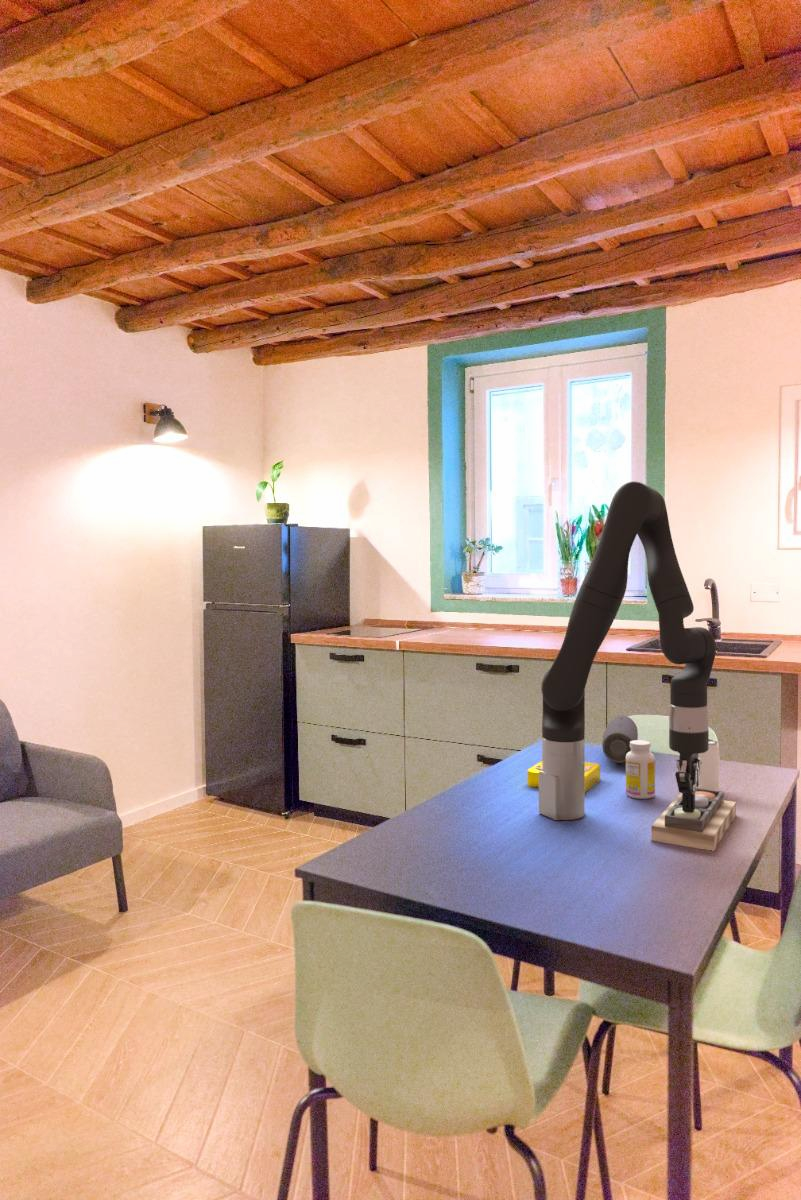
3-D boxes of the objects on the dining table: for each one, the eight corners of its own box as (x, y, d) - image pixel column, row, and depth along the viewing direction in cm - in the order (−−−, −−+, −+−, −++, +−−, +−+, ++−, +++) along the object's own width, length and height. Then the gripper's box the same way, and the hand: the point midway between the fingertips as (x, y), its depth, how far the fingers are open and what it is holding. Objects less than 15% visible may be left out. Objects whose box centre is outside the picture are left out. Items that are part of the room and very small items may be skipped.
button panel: (713, 851, 160) (714, 824, 159) (651, 840, 166) (651, 815, 166) (735, 815, 180) (736, 792, 180) (679, 806, 186) (679, 784, 186)
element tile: (582, 796, 197) (582, 776, 196) (524, 787, 205) (524, 768, 204) (602, 780, 210) (602, 762, 209) (547, 772, 217) (547, 754, 217)
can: (721, 795, 195) (721, 745, 194) (692, 793, 196) (692, 744, 195) (716, 787, 201) (716, 738, 200) (688, 785, 202) (688, 737, 201)
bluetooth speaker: (605, 746, 243) (605, 712, 242) (638, 748, 240) (638, 714, 239) (600, 766, 221) (600, 729, 221) (636, 768, 218) (636, 731, 218)
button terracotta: (712, 807, 176) (712, 799, 176) (688, 804, 178) (688, 796, 178) (717, 801, 180) (717, 793, 180) (693, 798, 183) (693, 790, 182)
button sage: (697, 825, 163) (697, 817, 163) (671, 821, 166) (671, 813, 165) (702, 818, 167) (702, 809, 167) (677, 814, 170) (677, 806, 170)
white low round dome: (705, 812, 169) (705, 803, 169) (680, 808, 172) (680, 799, 172) (710, 805, 174) (710, 796, 173) (686, 801, 176) (686, 793, 176)
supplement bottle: (651, 791, 198) (651, 739, 197) (657, 800, 192) (657, 745, 191) (623, 791, 199) (623, 738, 198) (628, 799, 192) (628, 745, 191)
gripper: (701, 735, 158) (701, 823, 159) (714, 721, 169) (714, 804, 170) (661, 731, 162) (661, 818, 163) (676, 718, 173) (677, 799, 174)
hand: (688, 811), depth 167 cm, fingers closed
